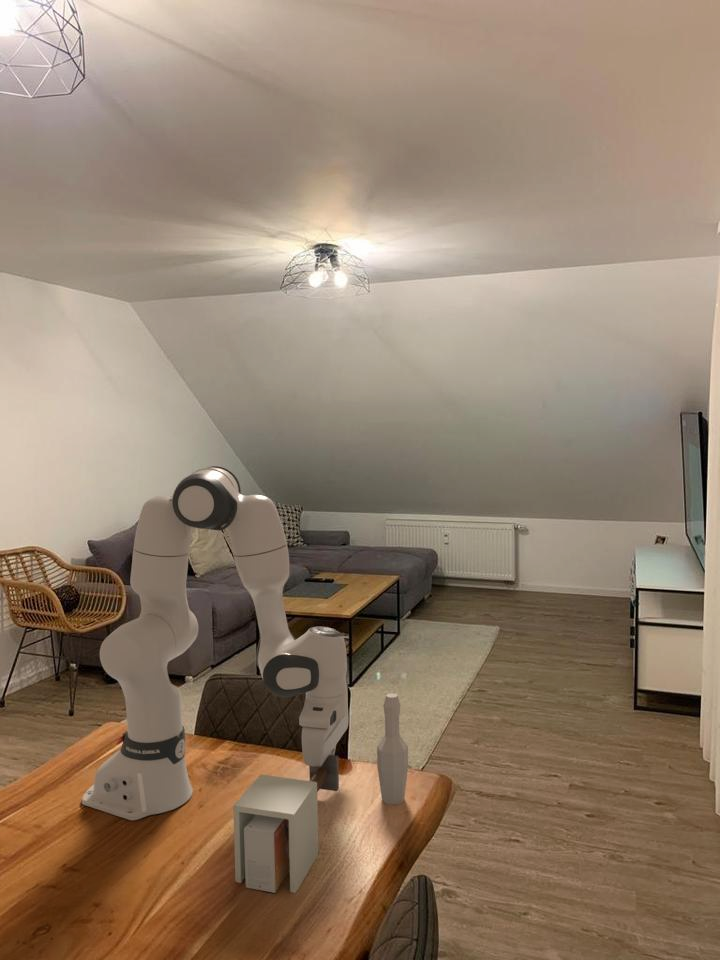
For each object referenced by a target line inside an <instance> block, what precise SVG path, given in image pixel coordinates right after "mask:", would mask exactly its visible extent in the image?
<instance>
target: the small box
mask: <svg viewBox="0 0 720 960" xmlns="http://www.w3.org/2000/svg"><path fill="white" fill-rule="evenodd" d="M244 849H245V878H244V879H245V888H247V889H252V890H257V891H263V892H268V893H276V892H277V891H278V889H279V887H280V886H281V884H282V883H283V881H284V880H285V878H286V876H287V875H288V873H290V859H289V820H288V819H282V818H275V817H269V816H262V815H255V816H254V818H253V819H252V820H251V821H250V822H249V824H248V825H247V826H246V827H245V828H244Z"/></svg>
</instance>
